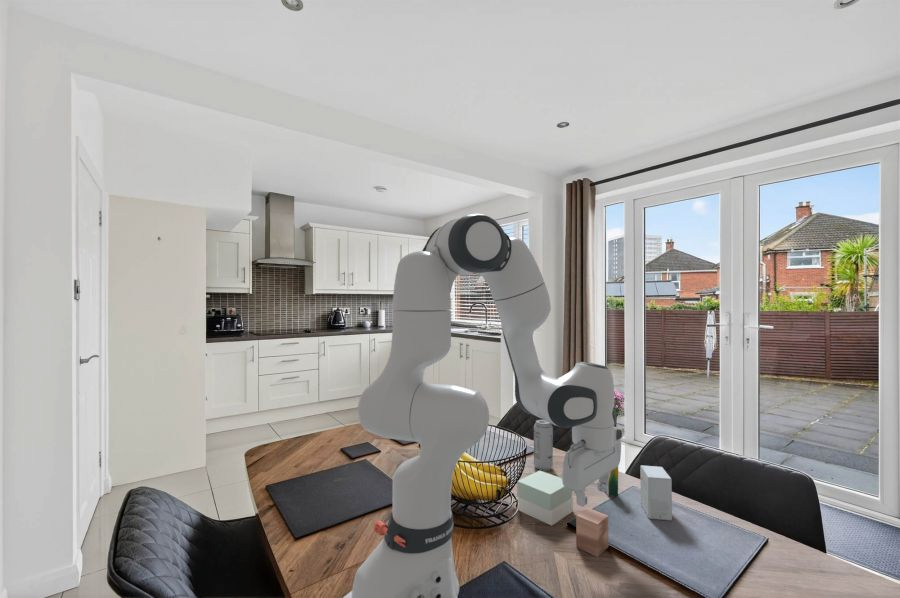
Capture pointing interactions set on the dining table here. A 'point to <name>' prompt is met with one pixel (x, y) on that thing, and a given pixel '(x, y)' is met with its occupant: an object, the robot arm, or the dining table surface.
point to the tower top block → (543, 490)
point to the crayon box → (613, 483)
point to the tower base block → (546, 511)
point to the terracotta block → (592, 531)
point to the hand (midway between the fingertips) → (592, 497)
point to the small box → (656, 492)
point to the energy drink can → (543, 445)
